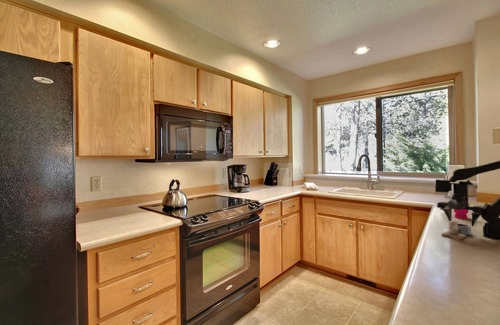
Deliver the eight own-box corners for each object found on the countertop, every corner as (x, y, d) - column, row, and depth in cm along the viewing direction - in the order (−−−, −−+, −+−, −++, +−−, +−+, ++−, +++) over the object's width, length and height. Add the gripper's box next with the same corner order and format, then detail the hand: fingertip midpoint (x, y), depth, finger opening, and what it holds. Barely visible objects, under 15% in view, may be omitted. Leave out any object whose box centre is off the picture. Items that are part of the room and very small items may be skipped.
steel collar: (472, 233, 121) (472, 225, 121) (466, 235, 118) (466, 227, 118) (455, 230, 128) (455, 222, 128) (449, 232, 124) (449, 224, 124)
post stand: (466, 237, 116) (466, 222, 116) (459, 239, 113) (458, 224, 113) (448, 233, 122) (448, 219, 122) (441, 235, 119) (441, 221, 119)
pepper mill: (463, 219, 150) (462, 187, 150) (450, 216, 157) (450, 185, 157) (471, 218, 152) (471, 186, 152) (458, 215, 159) (458, 185, 159)
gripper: (431, 192, 127) (431, 222, 127) (477, 197, 111) (478, 231, 111) (442, 191, 132) (442, 219, 133) (487, 195, 116) (488, 227, 116)
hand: (461, 224), depth 123 cm, fingers open, 9 cm apart
